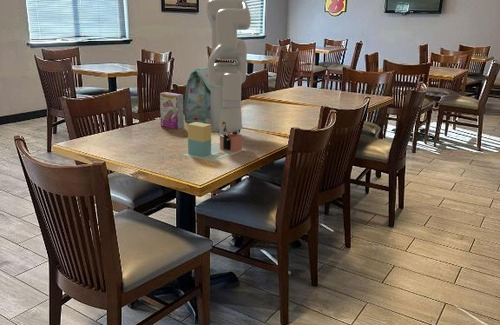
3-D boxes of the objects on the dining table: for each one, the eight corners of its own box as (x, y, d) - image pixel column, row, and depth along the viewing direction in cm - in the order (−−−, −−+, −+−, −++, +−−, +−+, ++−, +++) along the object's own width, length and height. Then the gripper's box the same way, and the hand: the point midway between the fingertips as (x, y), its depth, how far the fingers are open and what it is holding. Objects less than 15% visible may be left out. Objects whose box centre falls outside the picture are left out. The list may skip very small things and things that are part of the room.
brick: (219, 148, 189) (220, 134, 187) (226, 146, 193) (227, 132, 191) (235, 152, 185) (235, 137, 184) (241, 149, 189) (242, 135, 188)
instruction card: (207, 155, 180) (207, 155, 180) (216, 152, 185) (216, 151, 185) (220, 158, 177) (220, 157, 177) (229, 154, 182) (229, 154, 182)
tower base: (188, 153, 182) (187, 124, 178) (196, 150, 186) (195, 121, 182) (203, 157, 178) (203, 126, 174) (211, 154, 182) (211, 124, 178)
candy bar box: (160, 126, 225) (158, 93, 220) (167, 124, 229) (166, 91, 224) (177, 130, 219) (176, 95, 214) (184, 128, 223) (183, 94, 218)
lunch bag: (210, 125, 231) (210, 70, 223) (181, 121, 236) (180, 68, 228) (228, 116, 251) (228, 66, 243) (200, 113, 257) (200, 64, 248)
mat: (181, 155, 180) (181, 154, 180) (215, 143, 198) (215, 142, 198) (214, 163, 172) (214, 162, 172) (246, 149, 190) (246, 149, 190)
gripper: (235, 99, 192) (234, 141, 198) (211, 105, 178) (211, 150, 184) (250, 101, 188) (249, 144, 194) (226, 108, 175) (226, 154, 180)
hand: (230, 147), depth 189 cm, fingers closed on brick, 5 cm apart
